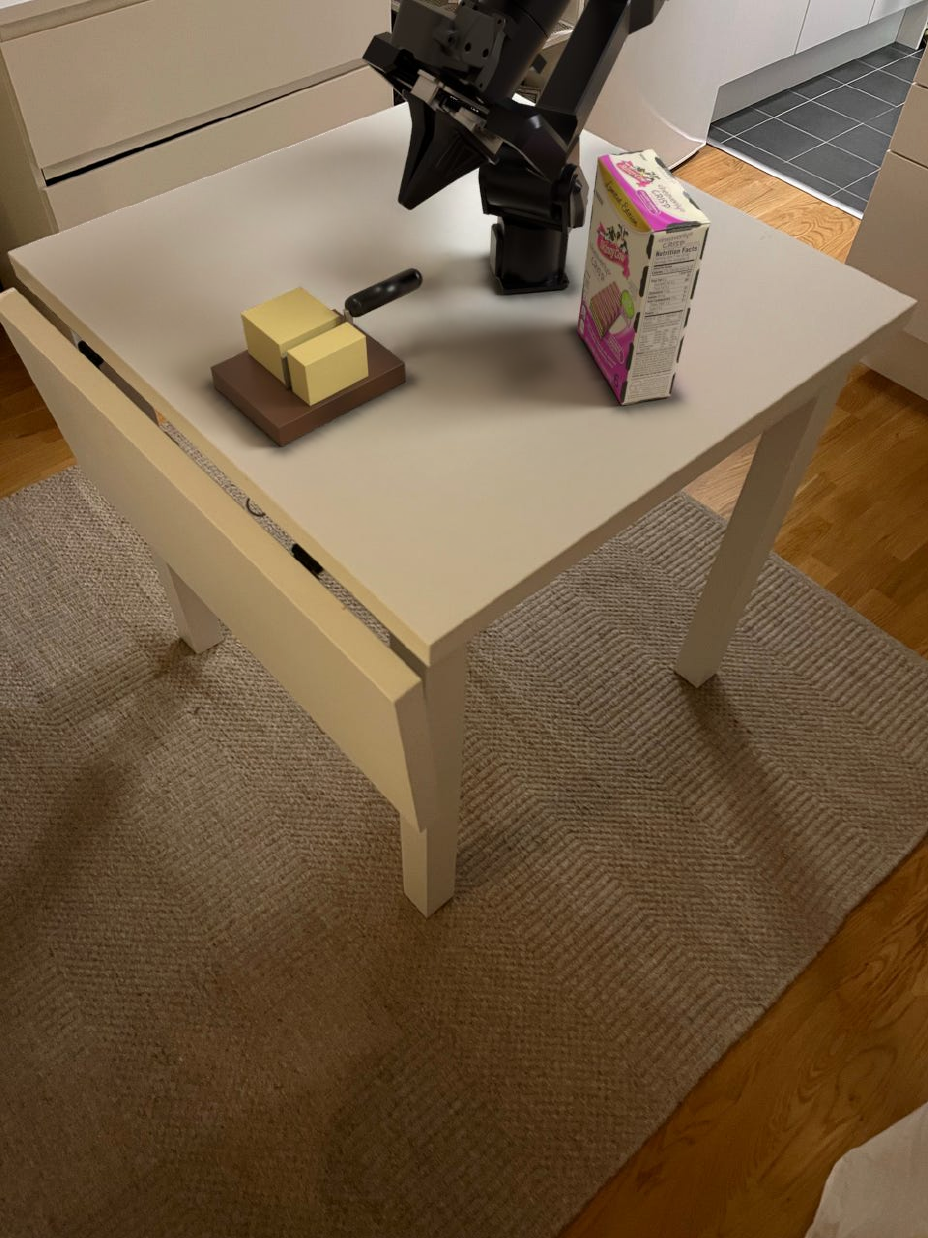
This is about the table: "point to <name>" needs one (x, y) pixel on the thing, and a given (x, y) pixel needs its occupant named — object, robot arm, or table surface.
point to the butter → (306, 344)
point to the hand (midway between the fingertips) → (403, 206)
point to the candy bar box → (639, 273)
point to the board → (284, 408)
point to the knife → (372, 301)
